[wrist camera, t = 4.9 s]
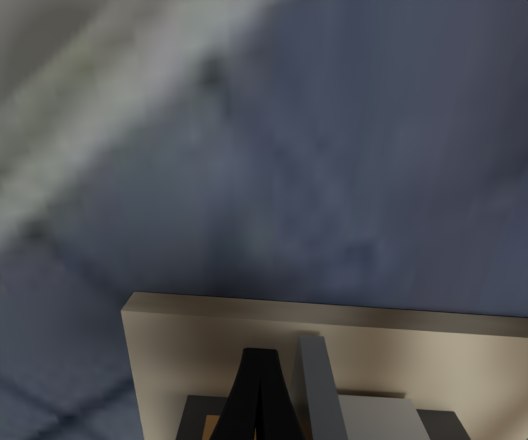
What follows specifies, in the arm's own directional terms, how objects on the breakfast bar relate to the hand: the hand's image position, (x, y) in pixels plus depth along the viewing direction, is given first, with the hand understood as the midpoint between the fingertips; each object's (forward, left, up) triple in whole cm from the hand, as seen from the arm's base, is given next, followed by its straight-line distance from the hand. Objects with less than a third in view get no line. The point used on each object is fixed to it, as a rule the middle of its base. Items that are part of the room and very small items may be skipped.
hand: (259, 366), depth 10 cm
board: (+4, -6, -2) cm, 7 cm away
